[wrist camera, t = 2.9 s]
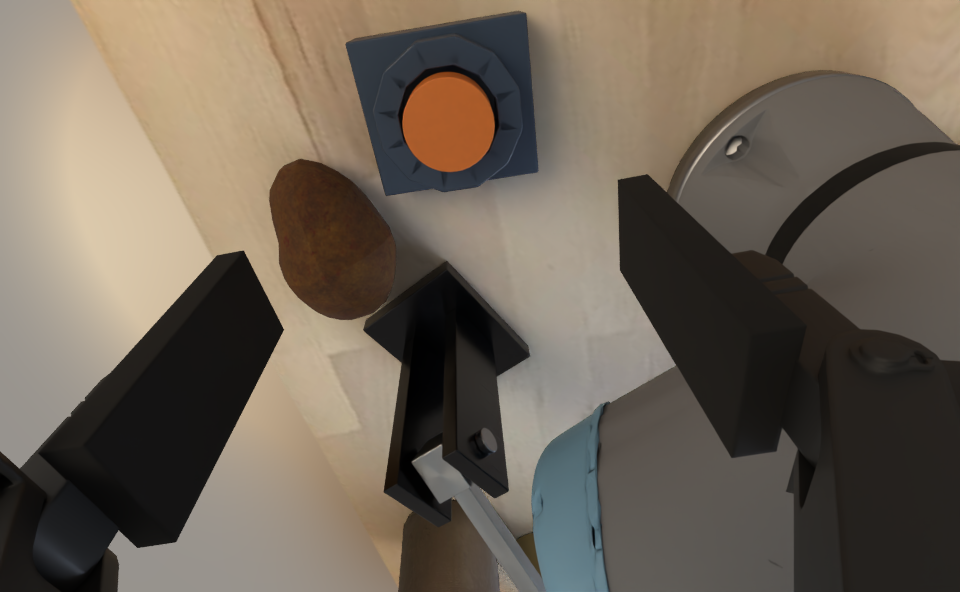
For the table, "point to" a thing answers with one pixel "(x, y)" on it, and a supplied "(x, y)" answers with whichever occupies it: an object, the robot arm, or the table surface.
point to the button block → (448, 48)
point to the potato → (331, 241)
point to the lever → (476, 514)
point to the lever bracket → (446, 386)
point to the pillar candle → (446, 556)
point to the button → (448, 122)
